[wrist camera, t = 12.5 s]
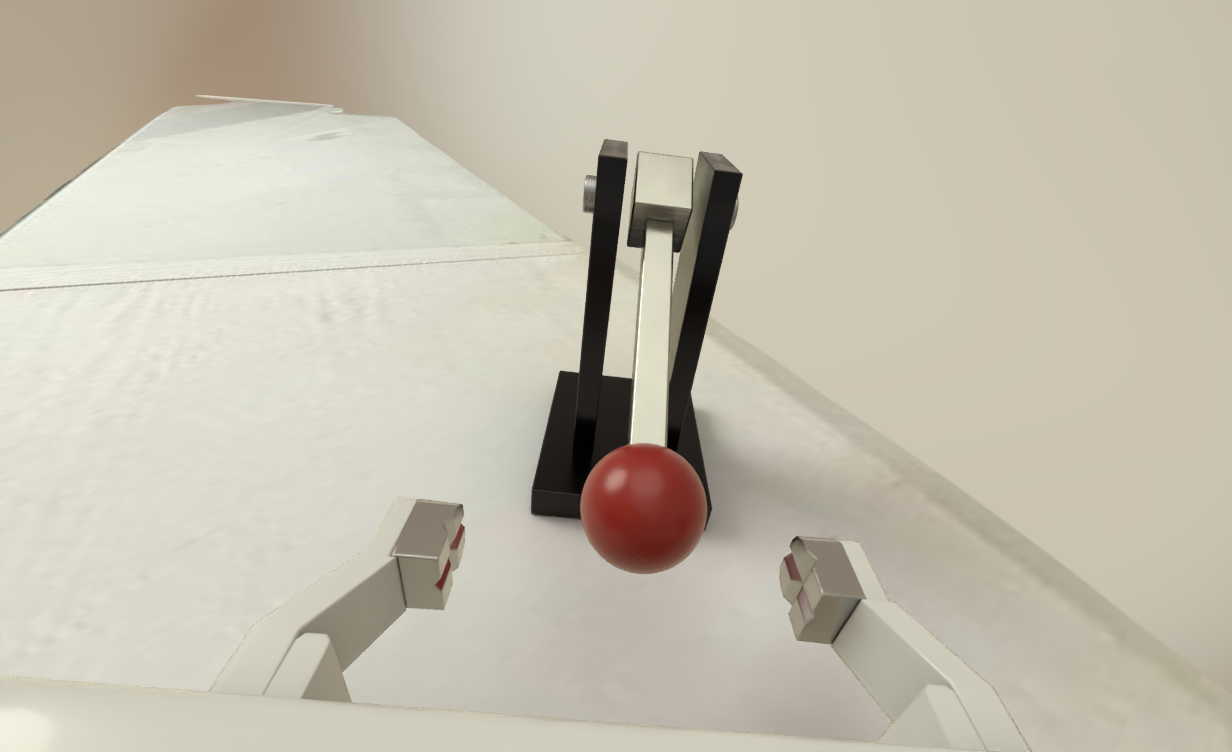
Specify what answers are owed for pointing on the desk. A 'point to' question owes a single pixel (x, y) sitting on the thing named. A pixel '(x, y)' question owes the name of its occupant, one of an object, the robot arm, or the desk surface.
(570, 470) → the black lever base
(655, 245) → the lever
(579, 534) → the desk surface
